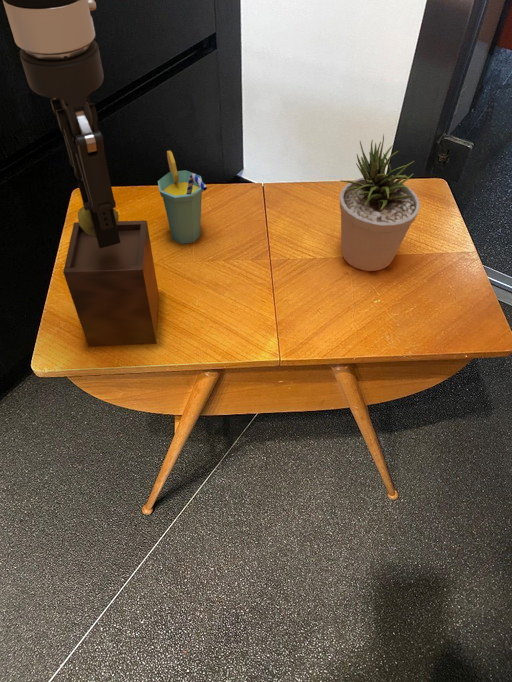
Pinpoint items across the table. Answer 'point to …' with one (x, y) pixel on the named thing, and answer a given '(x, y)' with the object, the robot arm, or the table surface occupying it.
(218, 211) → the table surface
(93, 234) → the lime
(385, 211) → the potted plant
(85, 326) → the dark brown box
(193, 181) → the cup
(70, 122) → the robot arm
